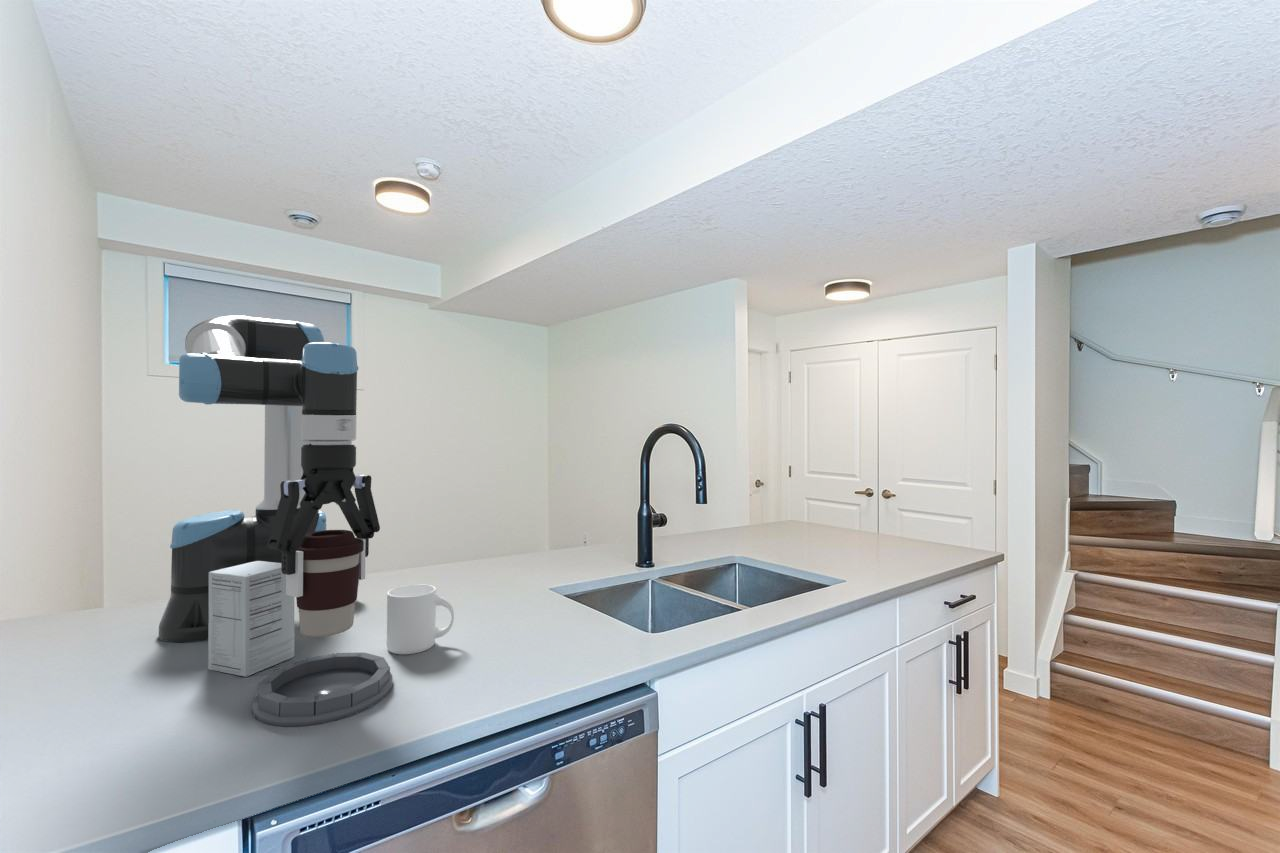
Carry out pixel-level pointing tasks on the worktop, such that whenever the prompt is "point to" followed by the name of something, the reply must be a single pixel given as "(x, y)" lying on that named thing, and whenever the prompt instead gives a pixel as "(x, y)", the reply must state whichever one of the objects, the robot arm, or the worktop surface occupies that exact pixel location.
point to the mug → (414, 618)
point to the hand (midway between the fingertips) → (327, 586)
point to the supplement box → (249, 618)
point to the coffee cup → (329, 582)
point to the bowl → (322, 689)
